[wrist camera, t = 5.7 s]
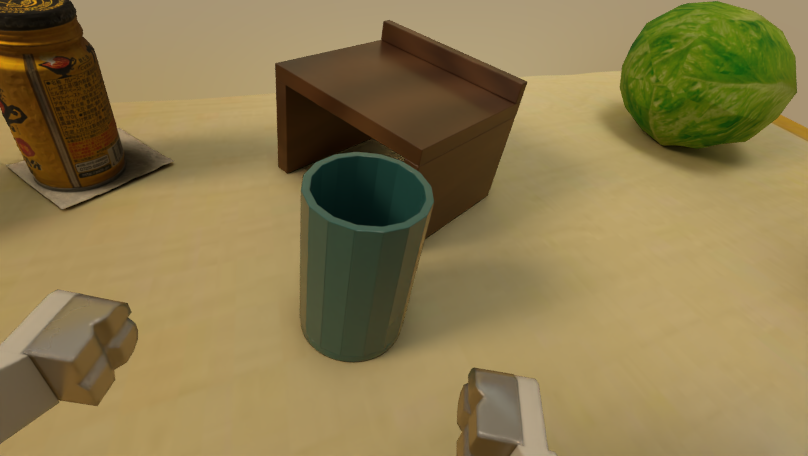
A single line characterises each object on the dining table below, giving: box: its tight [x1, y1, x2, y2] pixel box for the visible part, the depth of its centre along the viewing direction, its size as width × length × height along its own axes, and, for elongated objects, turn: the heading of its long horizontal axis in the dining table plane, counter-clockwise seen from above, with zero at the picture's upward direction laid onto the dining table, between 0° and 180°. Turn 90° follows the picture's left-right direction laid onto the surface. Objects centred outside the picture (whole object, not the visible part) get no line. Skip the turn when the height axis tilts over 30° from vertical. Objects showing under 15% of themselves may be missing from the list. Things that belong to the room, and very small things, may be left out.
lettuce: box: [620, 1, 797, 149], centre depth 52 cm, size 17×20×15 cm
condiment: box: [0, 0, 173, 209], centre depth 31 cm, size 7×8×12 cm
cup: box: [300, 152, 434, 362], centre depth 25 cm, size 6×6×10 cm
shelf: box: [275, 20, 527, 239], centre depth 36 cm, size 14×12×11 cm
